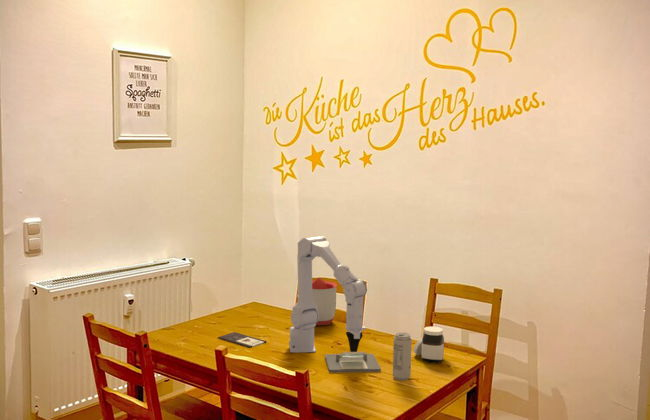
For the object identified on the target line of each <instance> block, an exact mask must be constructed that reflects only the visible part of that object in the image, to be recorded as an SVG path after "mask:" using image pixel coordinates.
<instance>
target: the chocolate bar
mask: <svg viewBox="0 0 650 420" xmlns="http://www.w3.org/2000/svg"><path fill="white" fill-rule="evenodd" d="M217 339H219V340H222V341H225V340H226V341H225V342H229V343H232V344H235V345H238V346H239V345H240V346H243V347H245V348H248V349H252V348H254V347H257V346H260V345H263V344H266V343H267V340H264V339H260V338H258V337H254V336H253V337H252V336H250V335H247V334H243V333H240V332H236V331H233V332H231V333H228V334H223V335H220V336H218V337H217Z"/></svg>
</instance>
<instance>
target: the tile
mask: <svg viewBox="0 0 650 420" xmlns="http://www.w3.org/2000/svg"><path fill="white" fill-rule="evenodd" d="M365 354H366V351H357V352H350V351H342V353H341V357H363V356H364V355H365Z"/></svg>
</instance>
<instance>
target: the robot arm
mask: <svg viewBox="0 0 650 420" xmlns="http://www.w3.org/2000/svg"><path fill="white" fill-rule="evenodd" d="M316 257H317V258H319V257H320V258H321V259H322V260H323V261H324V262H325V263H326V265H327V266H329V267H330V268H331V270H332V271H333V277H334V278H335V279H336V280H337V282H338V283H339V284H340V286H341V288H343V289H342V290H343V292H342V293H343V295H344V296H345V302H346V315H345V316H346V317H345V318H346V319H345V320H346V321H345V322H346V323H345V331H346V332H345V335H346V338H347V340H348V345H349V352H358V349H359V344H360V342H361V340H362V338H363V331H365V330H367V327H366V326H365V325H364V326H363V322H364V321H363V317H364V314H363V311H364V296H366V294H367V291H368V287H367V284H366V282H365V281H364V280H363V279H359V278H358V277H357V276H356V275H354V273H353V272H352V271H351V270H350V267H349V266H348V265H345V264H341V262H340V261H339V259H338V258H337V256H336V255H335V253H334V252H333V250H332V249H331V248H330V242H329V241H328V240H327V238H326V237H325V236H323V235H319V236H312V237H302V238H301V239H300V240H299V241H298V242H297V294H298V297H297V302H296V303H295V304H294V305H293V306H292V309H291V310H292V312H291V315H290V321H291V322H290V323H291V324H292V325H293V326H289V341H288V347H289V350H290V351H289V352H290V353H316V352H317V351H316V347H315V327H316V326H317V325H316V323H317V322H318V320H319V313H318V310H317V305H316V304H315V303H314V302H313V301H312V281H313V260H314V259H315V258H316Z"/></svg>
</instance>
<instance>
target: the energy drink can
mask: <svg viewBox="0 0 650 420" xmlns="http://www.w3.org/2000/svg"><path fill="white" fill-rule="evenodd" d="M412 341H413V339H412V338H411V334H410V333H407V332H396V333H395V336H394V338H393V349H392V350H393V351H392V353H393V354H392V376H393V377H394V379H395V380H397V381H403V382H404V381H408V380H409V379H410V377H411V372H412V371H411V369H412V368H411V367H412Z"/></svg>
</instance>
